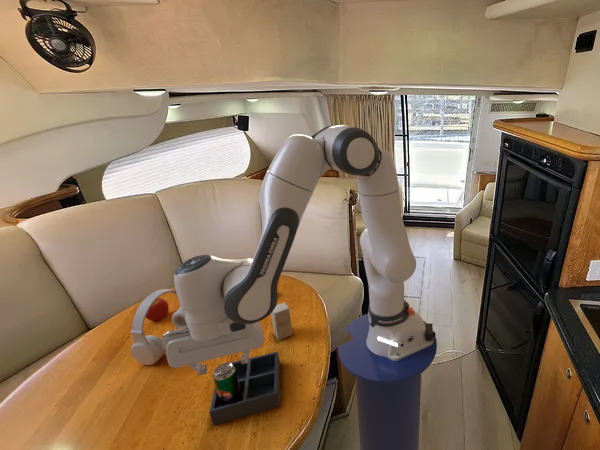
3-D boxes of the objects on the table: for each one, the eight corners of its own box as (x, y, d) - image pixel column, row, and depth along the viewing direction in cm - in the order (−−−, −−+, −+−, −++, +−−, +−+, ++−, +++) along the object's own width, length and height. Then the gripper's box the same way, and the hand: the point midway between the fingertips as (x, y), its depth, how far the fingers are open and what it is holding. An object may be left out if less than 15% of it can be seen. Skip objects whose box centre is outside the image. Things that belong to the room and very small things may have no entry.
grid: (280, 363, 96) (277, 351, 94) (279, 406, 82) (277, 393, 81) (223, 376, 91) (220, 364, 89) (213, 425, 77) (209, 412, 76)
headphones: (158, 367, 94) (139, 315, 87) (134, 365, 95) (112, 312, 88) (205, 324, 113) (192, 278, 106) (184, 322, 114) (169, 276, 107)
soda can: (217, 410, 80) (206, 375, 76) (231, 393, 85) (222, 359, 80) (234, 414, 79) (224, 379, 75) (247, 397, 84) (239, 363, 79)
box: (278, 341, 105) (273, 313, 101) (274, 334, 108) (269, 307, 104) (293, 334, 108) (289, 307, 104) (288, 327, 111) (284, 301, 107)
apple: (158, 325, 112) (152, 307, 109) (139, 323, 113) (133, 305, 110) (176, 312, 119) (170, 295, 116) (158, 310, 120) (152, 293, 117)
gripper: (153, 343, 66) (172, 390, 72) (257, 320, 73) (267, 365, 78) (163, 324, 72) (180, 369, 77) (258, 305, 78) (268, 348, 83)
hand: (224, 367), depth 77 cm, fingers open, 8 cm apart
